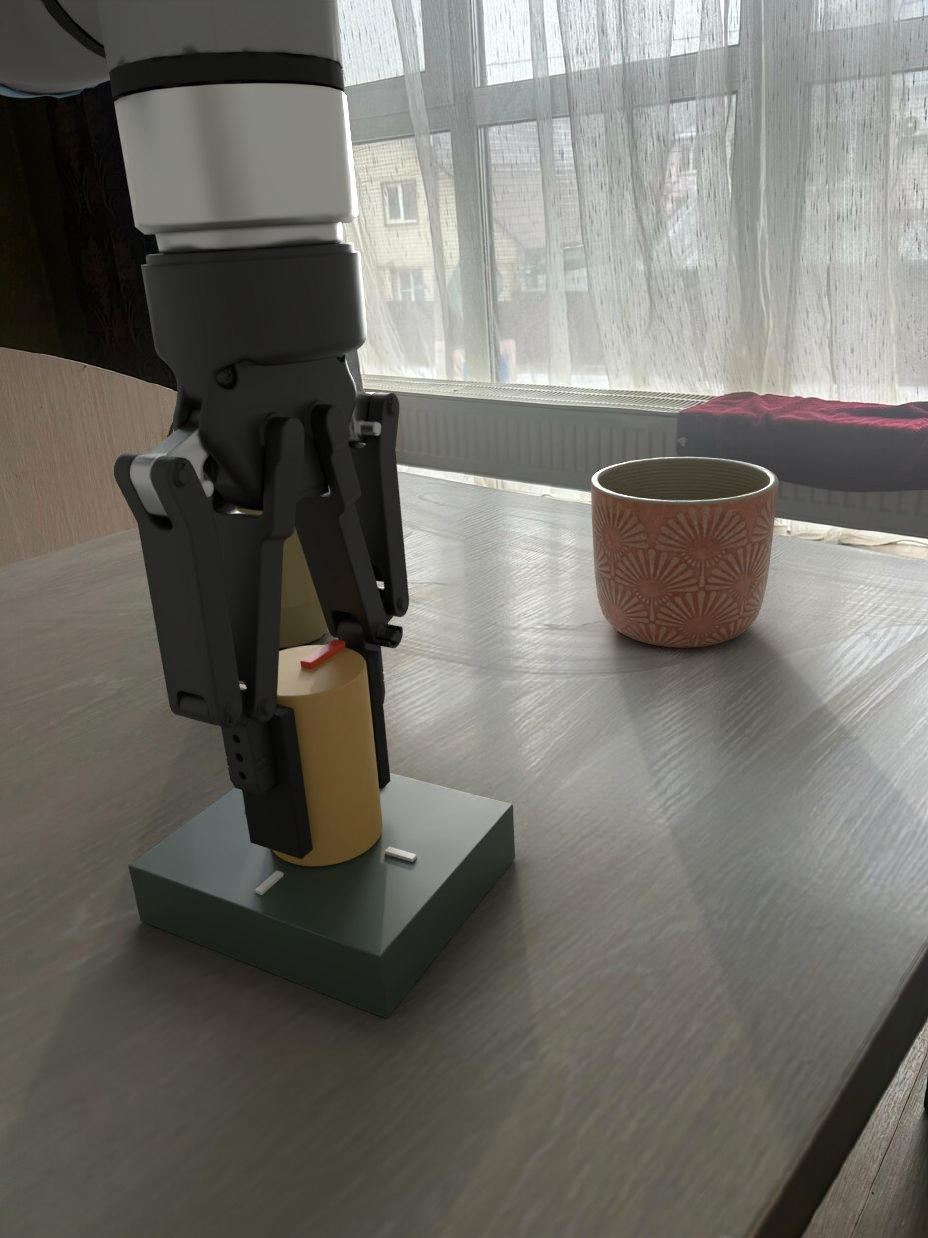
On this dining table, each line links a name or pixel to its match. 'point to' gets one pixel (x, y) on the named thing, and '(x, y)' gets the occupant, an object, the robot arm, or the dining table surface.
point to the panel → (332, 892)
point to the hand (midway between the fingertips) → (323, 809)
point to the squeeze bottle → (297, 596)
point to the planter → (682, 547)
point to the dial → (333, 749)
